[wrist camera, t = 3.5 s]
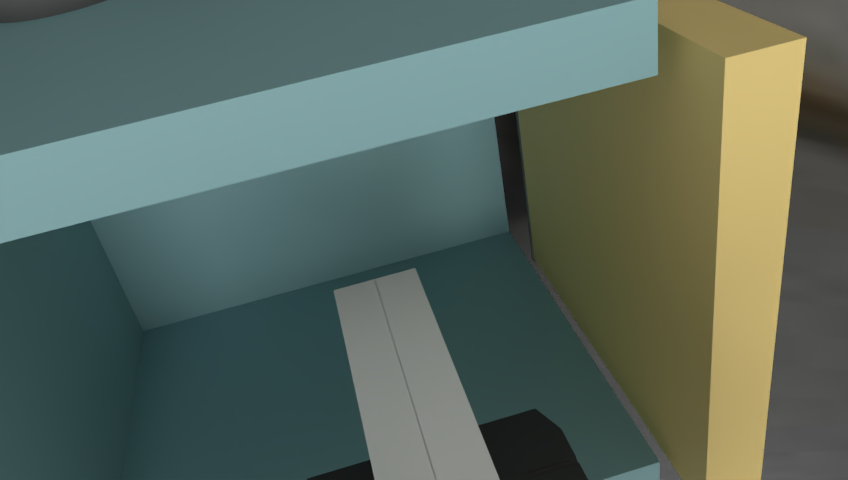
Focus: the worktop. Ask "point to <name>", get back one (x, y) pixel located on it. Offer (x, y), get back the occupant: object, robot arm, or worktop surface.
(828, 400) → the worktop surface
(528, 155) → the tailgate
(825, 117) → the worktop surface
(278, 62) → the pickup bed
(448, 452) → the robot arm
